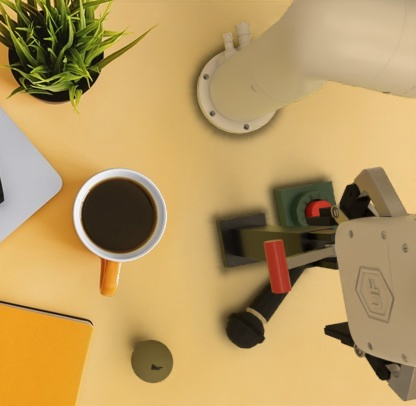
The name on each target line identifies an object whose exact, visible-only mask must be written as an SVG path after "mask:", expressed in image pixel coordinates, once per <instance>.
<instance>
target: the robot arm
mask: <svg viewBox="0 0 416 406" xmlns="http://www.w3.org/2000/svg"><path fill="white" fill-rule="evenodd" d="M250 26H251V25H250V22H249V21H242V22H239V23H237V24H235V32H236V38H237V39H238V46H237V47H236V48H235V46H234V37H233V33H232V32H226V33H223V34H222V36H221V37H222V43H223V46H224V50H223V51H221V52H219V53H218V54H216V55H215V56H213V57H212V58H211V59H210V60H209V61H208V62H206V64H205V65H204V67H203V68H202V69H201V71H200V73H199V76H198V79H197V83H196V97H197V98H196V99H197V103H198V106H199V108H200V111H201V112H202V114H203V116H204V117H205V118H206V119H207V121H208V122H209V123H210V124H212V125H213V126H214V127H216V129H219V130H221V131H222V132H225V133H229V134H238V135H240V134H247V133H250V132H254V131H256V130H258V129H261V128H262V127H264V126H265V125H266V124H268V123H269V122H270V120H271V119H272V118H273V117H274V115H275V114H276V112H277V110H280V109H282V108H285V107H287V106H290V105H293V104H294V103H297V102H300V101H302V100H304V99H305V98H308V97H310V96H312V95H314V94H316V93H317V92H318V91H320V90H321V89H322V88H323V87H324V86H325V85H326V84H327V82H331V83H335V84H341V85H345V86H349V87H352V88H353V87H354V88H360V89H365V90H367V91H373V92H377V93H380V94H385V95H389V96H394V97H399V98H405V99H416V0H292V2H291V3H290V5H289V6H288V8H287V9H286V10H285V11H284V13H283V14H282V16H281V17H280V18H279V19H278V20H276V21H275V22H274V23H273V24H272V25H270V26H269V27H268V28H267V29H266V30H264V31H263V32H261V34H259V35H258V36H257V37H255V38H254V39H252V36H251V35H252V32H251V27H250ZM341 195H342V196H341V198H340V200H339V202H338V204H336V205H333V206H330V207H323V208H319V214H320V216H314V217H308V218H305V219H306V224H308V226H336V225H339V226H338V228H337V230H336V235H335V247H336V255H337V261H338V268H339V270H338V273H339V279H340V286H341V292H342V298H343V304H344V309H345V314H346V321H343V322H337V323H331V324H325V326H324V327H323V331H324V332H323V333H324V335H325V336H327V337H331V338H333V339H336V340H337V341H340V343H341V344H342V345H345V346H347V347H349V348H352V349H353V350H354V354H355V355H356V357H358V358H360V359H362V358H365V359H366V361H367V362H368V364H369V366H370V367H371V369H372V370H373V372H374V374H375V375H376V377H377V378H378V380H380V381H382V382H384V381H386V382H387V386H388V387H389V388H390V389H391V390H392V391H393V392H394V393H395V394H396V396H397V397H398V398H399V399H400V400H401V401H403V402H409V401H414V400H416V213H409V212H408V211H407V209H406V208H405V206H404V204H403V203H402V201H401V199H400V196H399V194H398V192H397V191H396V189H395V187H394V186H393V184H392V182H391V180H390V178H389V176H388V175H387V172H386V171H385V169H384V168H383V167H382V166H376V167H368V168H364V169H362V170H361V171H360V172H359V173H358V174H357V176H356V177H355V178H354V179H353V182H352V183H350V184H347V185H346V186H345V188H344V190H343V192H342V194H341Z"/></svg>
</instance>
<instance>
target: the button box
mask: <svg viewBox="0 0 416 406" xmlns="http://www.w3.org/2000/svg"><path fill="white" fill-rule="evenodd" d="M273 194H274V200H275V205H276V211H277V217H278V223H279V226H308V224H306V219H305V218H307V216H306V208H307V206H308V205H309V204H310V203H311V202H313V201H327V202H328V203H330V204H331V206H333V205H337V202H336V197H335V191H334V185H333V181H332V180H329V181H321V182H316V183H310V184H309V183H308V184H304V185H297V186H292V187H285V188H281V189H275V190H273ZM338 226H339V225H336V226H308V227H333V229H334V230H337V228H338Z"/></svg>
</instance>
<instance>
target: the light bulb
mask: <svg viewBox="0 0 416 406" xmlns="http://www.w3.org/2000/svg"><path fill="white" fill-rule="evenodd" d="M173 357H174V356H173V354H172V352H171V350H170V348H169V347H168V346H167V345H166V344H165V343H163V342H161V341H160V340H156V339H146V340H139V341H136V343H135V344H134V346H133V350H132V352H131V356H130V366H131V369H132V371H133V372H134V374H135V376H136V377H137V378H139V380H141V381H142V382H145V383H148V384H157V383H162V382H163V381H165V380H166V379H168V378H169V376H170V375H171V373H172V371H173V368H174V358H173Z"/></svg>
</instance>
